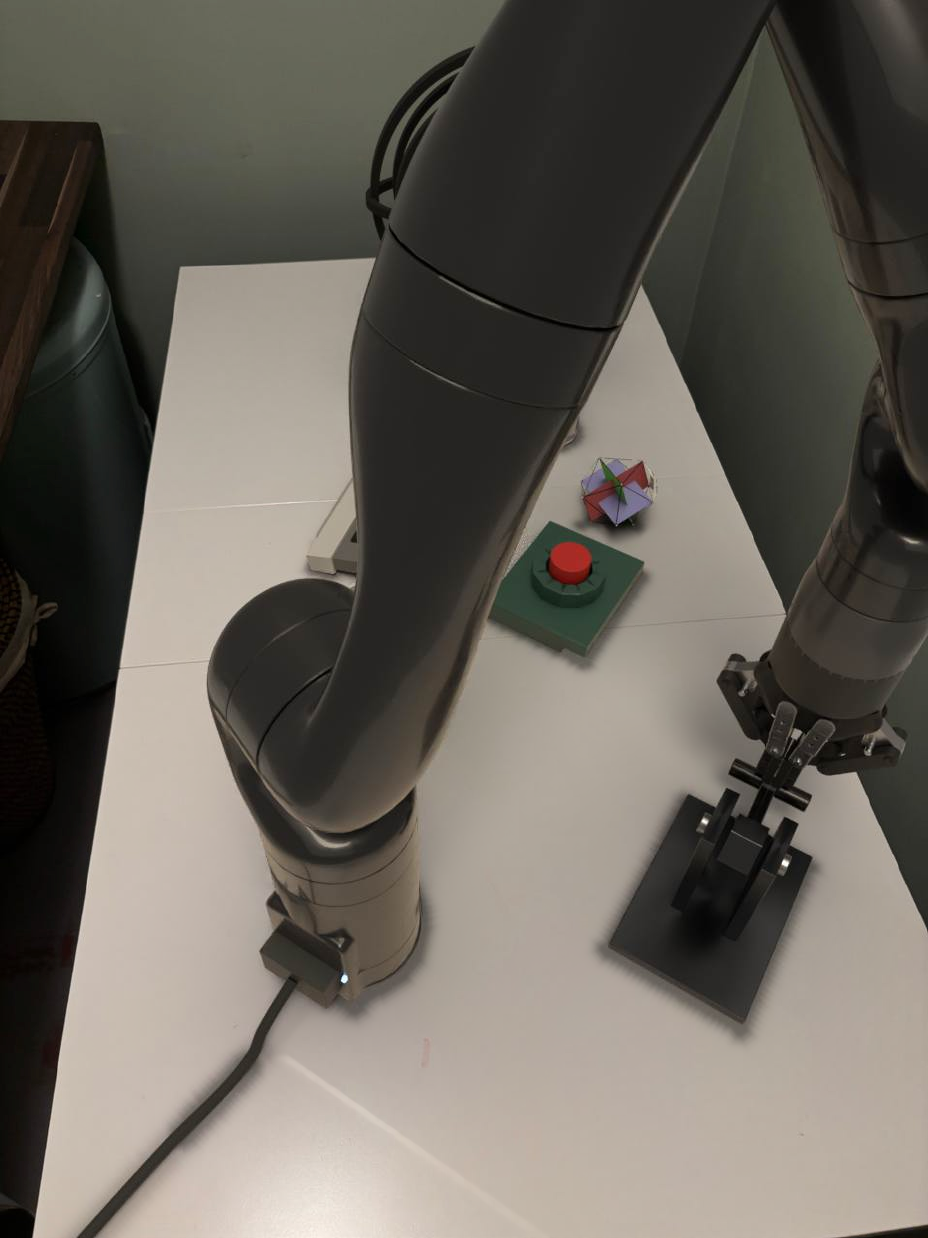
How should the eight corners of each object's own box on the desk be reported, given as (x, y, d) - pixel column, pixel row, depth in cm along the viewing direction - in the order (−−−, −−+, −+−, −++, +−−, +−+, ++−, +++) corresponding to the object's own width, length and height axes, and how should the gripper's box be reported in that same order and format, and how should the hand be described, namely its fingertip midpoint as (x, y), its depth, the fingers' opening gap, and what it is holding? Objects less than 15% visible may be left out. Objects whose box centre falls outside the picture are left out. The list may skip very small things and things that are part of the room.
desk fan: (378, 416, 107) (361, 72, 80) (369, 322, 118) (352, -8, 91) (622, 403, 110) (685, 66, 83) (591, 313, 121) (638, -11, 94)
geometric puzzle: (585, 538, 93) (640, 473, 90) (550, 492, 97) (601, 428, 93) (630, 551, 98) (683, 491, 95) (595, 507, 102) (645, 447, 98)
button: (577, 590, 87) (579, 577, 86) (541, 574, 88) (543, 560, 87) (595, 565, 89) (598, 552, 88) (560, 549, 90) (562, 536, 89)
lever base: (684, 803, 78) (718, 718, 69) (807, 865, 75) (859, 786, 66) (606, 951, 70) (632, 878, 61) (739, 1029, 67) (788, 964, 58)
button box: (583, 663, 86) (589, 634, 83) (484, 616, 89) (486, 586, 86) (641, 577, 93) (648, 547, 90) (547, 536, 96) (551, 506, 93)
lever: (727, 775, 75) (739, 749, 74) (803, 813, 73) (816, 786, 72) (689, 845, 65) (702, 816, 64) (776, 891, 63) (791, 861, 62)
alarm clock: (471, 590, 87) (301, 533, 89) (465, 623, 90) (302, 567, 93) (528, 468, 97) (374, 419, 99) (521, 501, 101) (373, 453, 103)
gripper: (725, 620, 59) (670, 772, 72) (949, 720, 55) (846, 862, 68) (769, 544, 63) (709, 701, 76) (980, 631, 59) (878, 781, 72)
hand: (774, 776), depth 72 cm, fingers closed
